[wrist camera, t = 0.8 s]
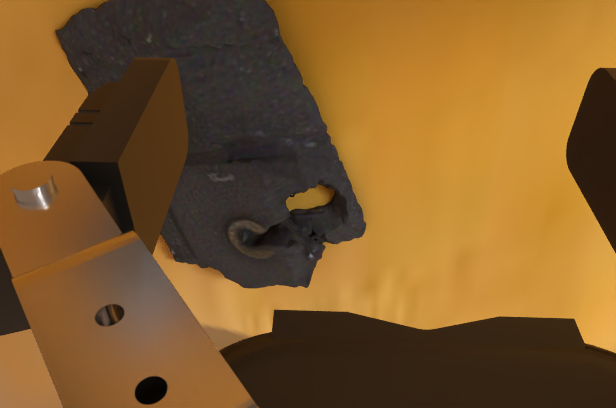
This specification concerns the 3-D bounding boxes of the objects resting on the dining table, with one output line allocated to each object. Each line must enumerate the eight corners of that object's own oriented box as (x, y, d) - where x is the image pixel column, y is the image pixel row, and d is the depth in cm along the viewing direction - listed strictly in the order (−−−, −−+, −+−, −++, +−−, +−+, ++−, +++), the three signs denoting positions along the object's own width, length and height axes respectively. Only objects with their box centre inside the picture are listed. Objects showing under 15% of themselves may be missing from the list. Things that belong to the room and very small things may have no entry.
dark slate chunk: (295, -60, 30) (292, -33, 26) (371, 239, 43) (376, 285, 39) (37, 11, 32) (1, 45, 28) (184, 272, 45) (173, 318, 42)
